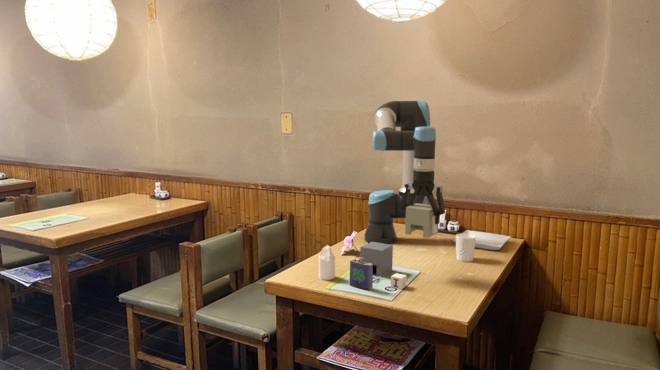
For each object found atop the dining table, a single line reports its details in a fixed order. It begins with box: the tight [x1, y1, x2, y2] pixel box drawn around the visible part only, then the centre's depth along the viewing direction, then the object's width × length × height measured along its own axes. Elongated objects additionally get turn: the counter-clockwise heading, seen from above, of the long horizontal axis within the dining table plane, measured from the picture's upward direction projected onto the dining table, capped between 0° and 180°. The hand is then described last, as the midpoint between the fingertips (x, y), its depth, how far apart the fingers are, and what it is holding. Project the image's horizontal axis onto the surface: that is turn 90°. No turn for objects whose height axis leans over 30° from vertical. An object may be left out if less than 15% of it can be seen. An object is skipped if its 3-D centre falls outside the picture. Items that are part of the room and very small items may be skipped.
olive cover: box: [404, 203, 439, 239], centre depth 182 cm, size 9×9×10 cm
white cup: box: [455, 233, 476, 263], centre depth 204 cm, size 8×8×10 cm
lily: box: [340, 230, 359, 256], centre depth 213 cm, size 12×12×10 cm
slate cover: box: [359, 242, 394, 278], centre depth 188 cm, size 9×9×10 cm
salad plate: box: [453, 229, 512, 251], centre depth 228 cm, size 21×21×3 cm
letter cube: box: [390, 272, 407, 290], centre depth 172 cm, size 4×4×4 cm
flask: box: [349, 256, 374, 291], centre depth 171 cm, size 9×3×11 cm, turn 51°
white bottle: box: [318, 244, 336, 281], centre depth 181 cm, size 6×12×6 cm
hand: (421, 230), depth 182 cm, fingers closed on olive cover, 9 cm apart
